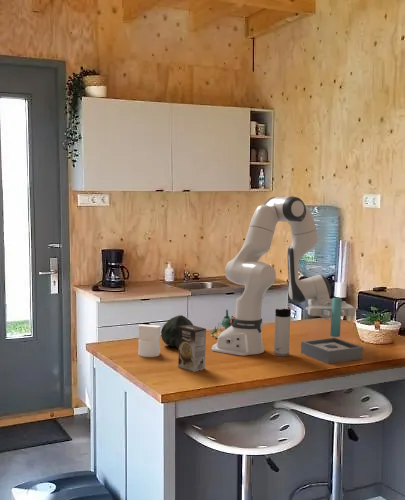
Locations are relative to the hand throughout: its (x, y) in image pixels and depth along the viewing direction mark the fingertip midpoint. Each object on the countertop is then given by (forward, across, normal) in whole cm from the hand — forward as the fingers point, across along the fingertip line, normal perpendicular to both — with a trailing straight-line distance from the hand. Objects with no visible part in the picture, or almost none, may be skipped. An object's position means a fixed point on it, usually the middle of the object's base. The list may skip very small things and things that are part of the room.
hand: (336, 314), depth 268 cm
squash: (-18, -65, +18) cm, 70 cm away
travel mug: (-2, -23, +18) cm, 29 cm away
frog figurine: (-32, -42, +18) cm, 56 cm away
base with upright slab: (-6, -78, +19) cm, 81 cm away
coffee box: (+15, -63, +19) cm, 67 cm away
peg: (-1, 0, +10) cm, 10 cm away
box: (+1, -2, +18) cm, 18 cm away
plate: (+1, -2, +18) cm, 18 cm away
